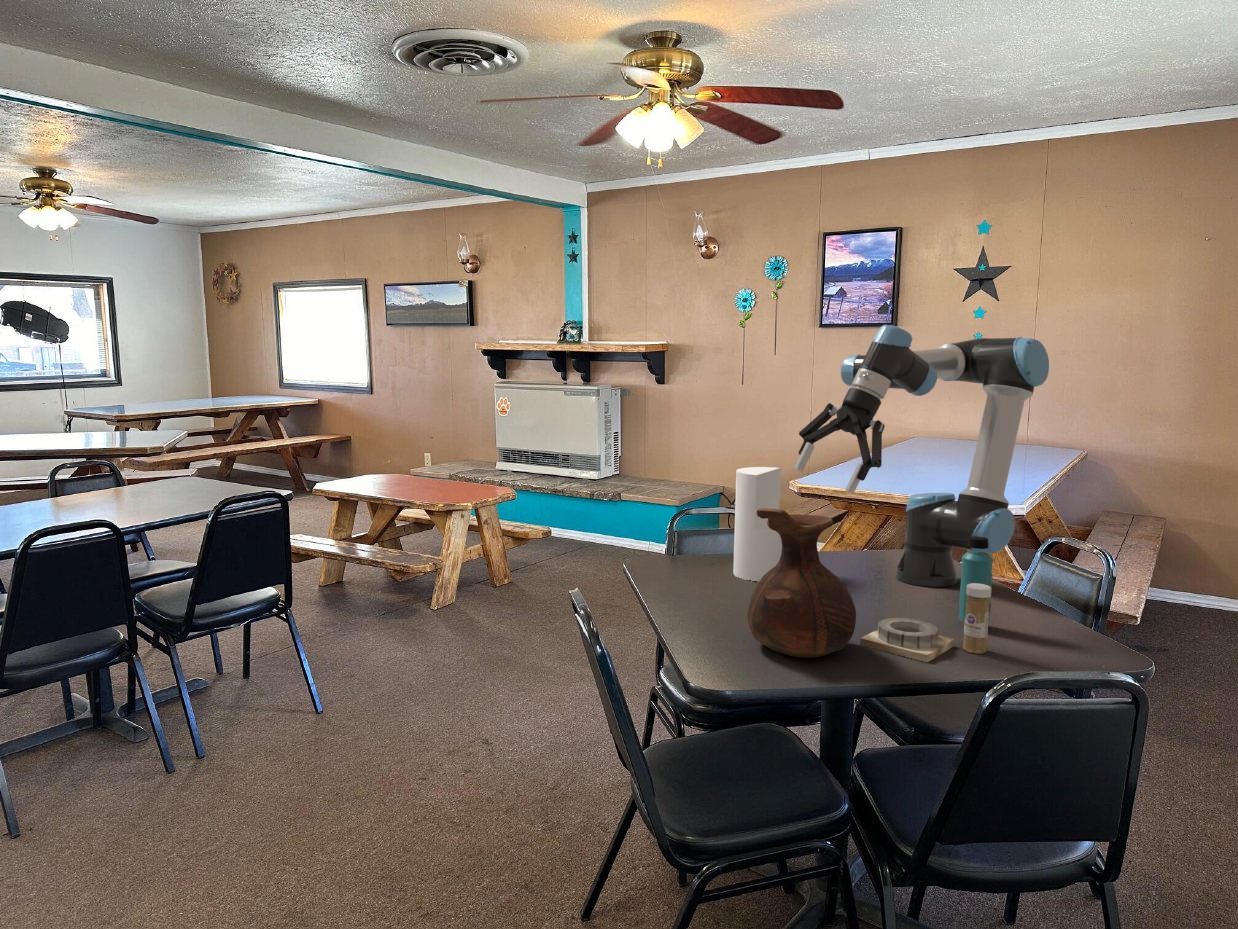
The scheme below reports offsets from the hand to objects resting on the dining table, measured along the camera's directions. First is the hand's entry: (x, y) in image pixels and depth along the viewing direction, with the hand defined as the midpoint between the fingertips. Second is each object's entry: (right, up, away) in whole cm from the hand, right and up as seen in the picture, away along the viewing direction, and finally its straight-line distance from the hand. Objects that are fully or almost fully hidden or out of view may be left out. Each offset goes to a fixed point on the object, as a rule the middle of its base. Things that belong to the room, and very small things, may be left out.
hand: (822, 481), depth 184 cm
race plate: (+14, -33, -13) cm, 38 cm away
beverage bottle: (+33, -32, 0) cm, 46 cm away
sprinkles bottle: (+27, -34, -15) cm, 46 cm away
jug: (-8, -34, -15) cm, 38 cm away
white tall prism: (-5, -26, +42) cm, 50 cm away
